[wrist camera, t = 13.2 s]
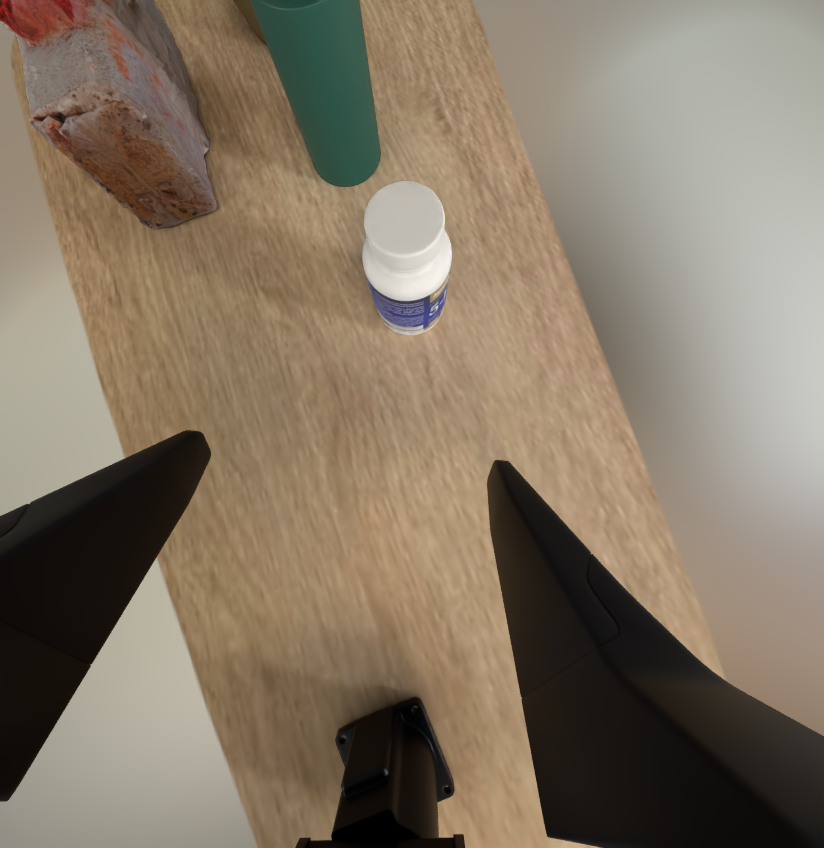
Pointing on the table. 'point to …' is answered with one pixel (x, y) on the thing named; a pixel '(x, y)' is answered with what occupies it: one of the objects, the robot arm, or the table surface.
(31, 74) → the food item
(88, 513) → the robot arm
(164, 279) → the table surface
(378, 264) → the pill bottle
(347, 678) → the table surface
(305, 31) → the green bottle
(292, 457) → the table surface
